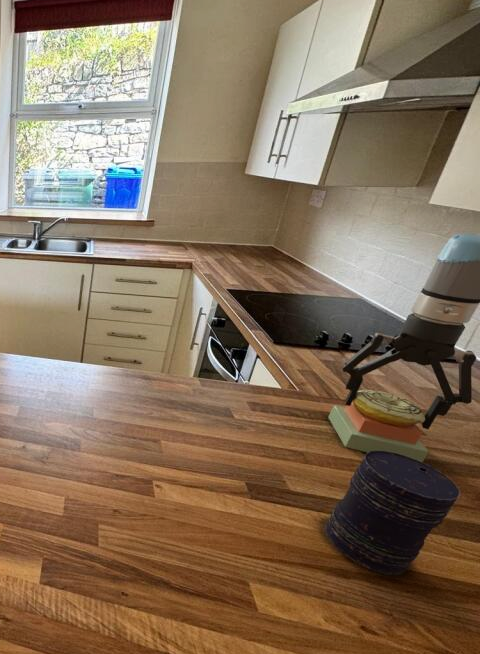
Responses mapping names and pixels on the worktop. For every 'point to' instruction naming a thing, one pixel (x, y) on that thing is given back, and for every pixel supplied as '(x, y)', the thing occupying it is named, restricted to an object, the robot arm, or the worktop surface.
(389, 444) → the stack base
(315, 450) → the worktop surface
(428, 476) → the dark blue cylinder
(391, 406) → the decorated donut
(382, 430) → the stack top
